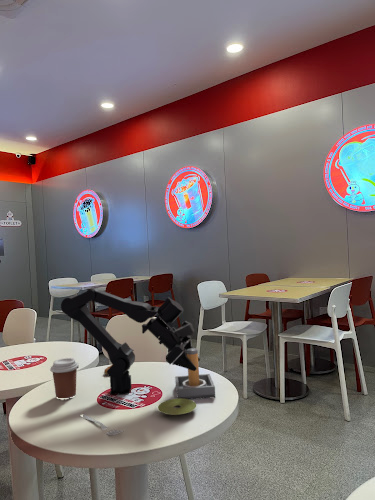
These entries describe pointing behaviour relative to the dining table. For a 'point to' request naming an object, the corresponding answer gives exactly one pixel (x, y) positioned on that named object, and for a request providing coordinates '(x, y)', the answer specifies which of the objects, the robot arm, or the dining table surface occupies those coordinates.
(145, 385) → the dining table surface
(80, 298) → the robot arm
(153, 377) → the dining table surface
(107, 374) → the pastry
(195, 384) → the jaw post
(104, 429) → the fork
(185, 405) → the olive green flat disc
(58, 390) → the coffee cup
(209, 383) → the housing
